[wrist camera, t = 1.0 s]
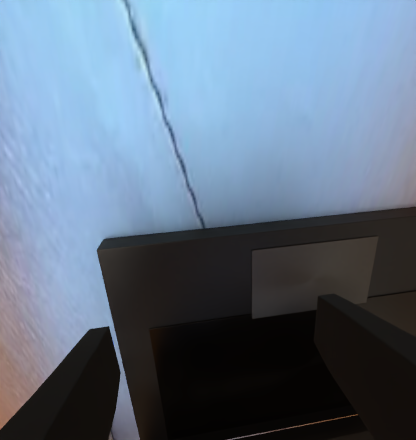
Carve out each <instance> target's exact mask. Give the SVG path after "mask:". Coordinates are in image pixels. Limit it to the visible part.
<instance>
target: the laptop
mask: <svg viewBox="0 0 416 440" xmlns="http://www.w3.org/2000/svg"><path fill="white" fill-rule="evenodd" d="M97 253H98V258H99V262H100V266H101V271H102V275H103V279H104V284H105V288H106V293H107V297H108V301H109V306H110V310H111V314H112V319H113V323H114V328H115V332H116V336H117V341H118V345H119V349H120V354H121V358H122V362H123V367H124V371H125V376H126V380H127V384H128V389H129V393H130V397H131V402H132V406H133V411H134V415H135V419H136V424H137V428H138V432H139V437H140V440H227V439H232V438H237V437H242V436H247V435H252V434H257V433H263V432H268V431H273V430H278V429H283V428H288V427H293V426H299V425H304V424H309V423H314V422H319V421H324V420H329V419H334V418H340V417H345V416H350V415H355V414H357V412H356V411H355V409H354V408H353V406H352V405H351V403H350V402H349V400H348V399H347V397H346V396H345V394H344V393H343V391H342V390H341V388H340V387H339V385H338V384H337V382H336V381H335V379H334V378H333V376H332V375H331V373H330V371H329V370H328V368H327V366H326V364H325V362H324V360H323V359H322V357H321V355H320V353H319V351H318V349H317V347H316V345H315V343H314V332H315V322H316V311H317V301H318V296H320V295H327V294H336V295H338V296H341V297H343V298H344V299H346V300H348V301H350V302H352V303H354V304H356V305H358V306H360V307H361V308H363V309H365V310H367V311H369V312H370V313H372V314H374V315H376V316H378V317H380V318H381V319H383V320H385V321H387V322H389V323H391V324H393V325H394V326H396V327H398V328H400V329H402V330H404V331H406V332H408V333H410V334H411V335H413V336H415V337H416V207H411V208H401V209H392V210H382V211H372V212H362V213H353V214H343V215H333V216H324V217H314V218H304V219H294V220H285V221H275V222H265V223H256V224H246V225H236V226H226V227H217V228H207V229H197V230H188V231H178V232H168V233H158V234H149V235H139V236H129V237H120V238H110V239H104V240H103V241H102V243H101V244H100V246H99V247H98V249H97Z"/></svg>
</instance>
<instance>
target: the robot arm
mask: <svg viewBox="0 0 416 440" xmlns="http://www.w3.org/2000/svg"><path fill="white" fill-rule="evenodd" d="M314 343H315V345H316V347H317V349H318V351H319V353H320V355H321V357H322V359H323V360H324V362H325V364H326V366H327V368H328V370H329V371H330V373H331V375H332V376H333V378H334V379H335V381H336V382H337V384H338V385H339V387H340V388H341V390H342V391H343V393H344V394H345V396H346V397H347V399H348V400H349V402H350V403H351V405H352V406H353V408H354V409H355V411H356V412H357V414H358V415H359V417H360V418H361V420H362V421H363V423H364V424H365V426H366V427H367V429H368V430H369V432H370V433H371V435H372V436H373V438H374V439H375V440H416V337H415V336H413V335H411V334H410V333H408V332H406V331H404V330H402V329H400V328H398V327H396V326H394V325H393V324H391V323H389V322H387V321H385V320H383V319H381V318H380V317H378V316H376V315H374V314H372V313H370V312H369V311H367V310H365V309H363V308H361V307H360V306H358V305H356V304H354V303H352V302H350V301H348V300H346V299H344V298H343V297H341V296H338V295H336V294H327V295H320V296H318V301H317V311H316V322H315V332H314ZM120 374H121V373H120V369H119V365H118V361H117V357H116V353H115V349H114V345H113V341H112V337H111V333H110V329H109V326H108V327H101V328H95V329H89V331H88V332H87V333H86V334H85V335H84V336H83V337H82V339H81V340H80V341H79V342H78V343H77V344H76V346H75V347H74V348H73V349H72V350H71V351H70V353H69V354H68V355H67V356H66V357H65V358H64V360H63V361H62V362H61V363H60V364H59V366H58V367H57V368H56V369H55V370H54V371H53V373H52V374H51V375H50V376H49V377H48V378H47V379H46V380H45V382H44V383H43V384H42V385H41V386H40V387H39V388H38V390H37V391H36V392H35V393H34V394H33V395H32V396H31V398H30V399H29V400H28V401H27V402H26V403H25V404H24V405H23V406H22V407H21V408H20V409H19V410H18V412H17V413H16V414H15V415H14V416H13V417H12V418H11V419H10V420H9V421H8V422H7V423H6V424H5V425H4V427H3V428H2V429H1V430H0V440H113V438H112V435H111V427H112V423H113V419H114V414H115V410H116V404H117V397H118V390H119V382H120Z"/></svg>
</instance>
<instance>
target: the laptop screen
mask: <svg viewBox="0 0 416 440" xmlns="http://www.w3.org/2000/svg"><path fill="white" fill-rule="evenodd" d="M234 440H375V439H374V438H373V436H372V435H371V433H370V432H369V430H368V429H367V427H366V426H365V424H364V423H363V421H362V420H361V418H360V417H359V415H356V416H351V417H346V418H341V419H336V420H331V421H326V422H320V423H315V424H310V425H305V426H300V427H295V428H290V429H285V430H280V431H274V432H269V433H264V434H259V435H254V436H249V437H244V438H239V439H234Z"/></svg>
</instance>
